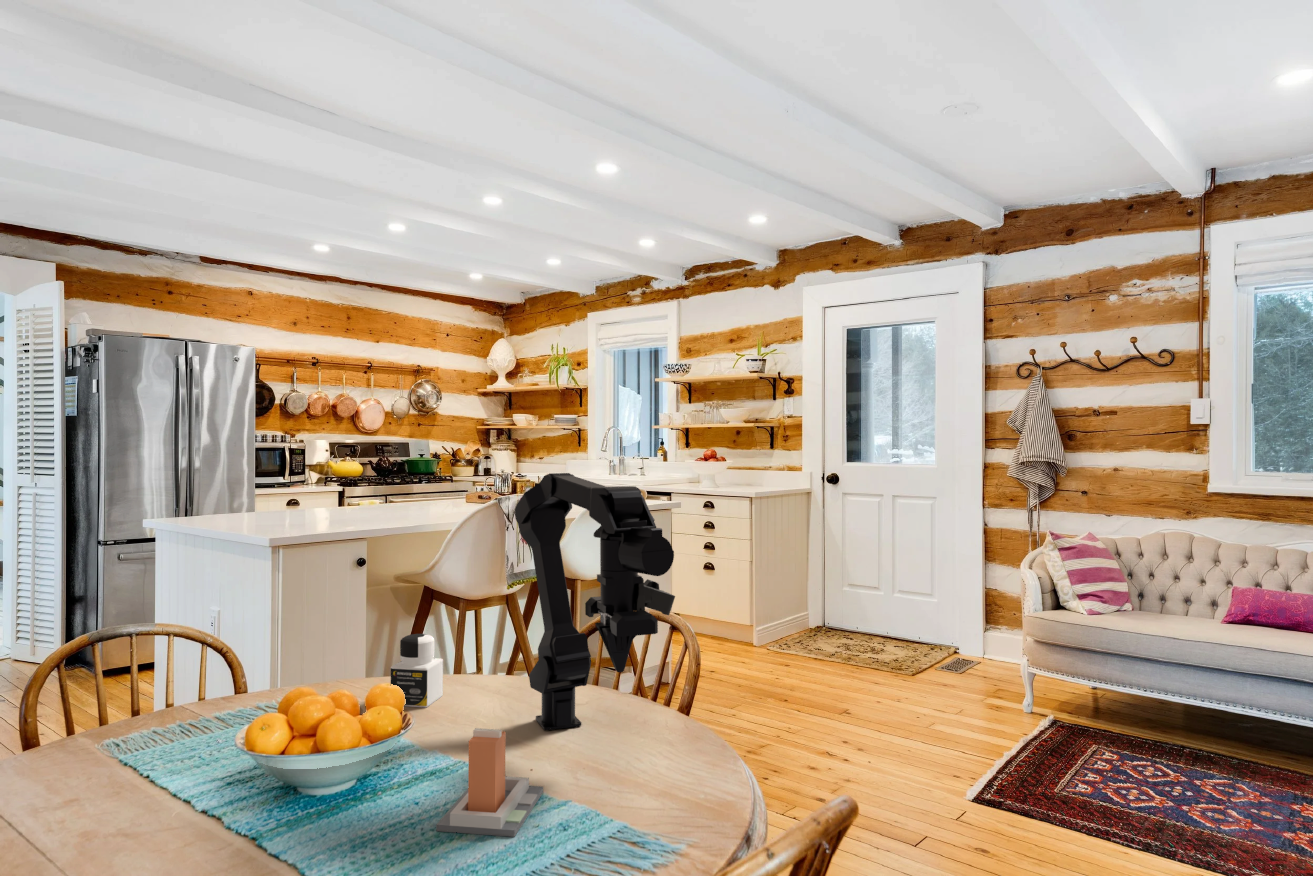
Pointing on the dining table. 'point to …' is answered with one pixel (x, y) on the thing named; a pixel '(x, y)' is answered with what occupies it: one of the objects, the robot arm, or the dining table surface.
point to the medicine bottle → (418, 671)
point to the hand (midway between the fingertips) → (619, 671)
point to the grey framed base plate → (500, 823)
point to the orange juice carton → (486, 770)
